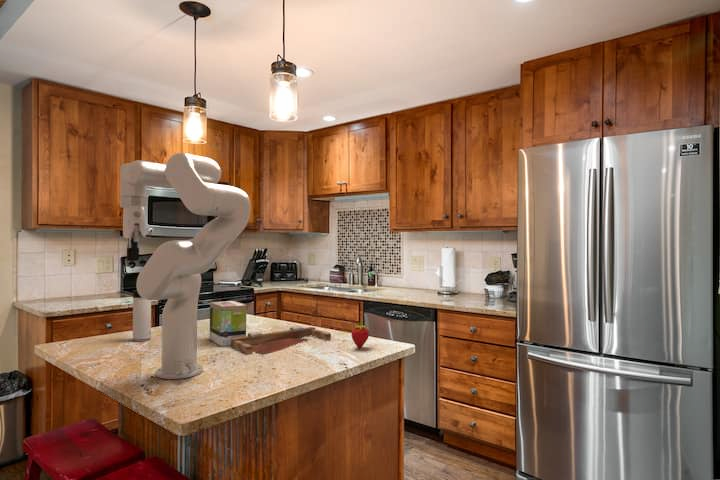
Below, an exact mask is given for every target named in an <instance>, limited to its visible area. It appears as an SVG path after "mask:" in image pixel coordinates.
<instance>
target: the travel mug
mask: <svg viewBox="0 0 720 480" xmlns="http://www.w3.org/2000/svg"><path fill="white" fill-rule="evenodd" d="M132 295H133V296H132V341H133V342H136V343H138V342H139V343H141V342H142V341H143V342H149V341H150V340H151V339H152V300H146V299H144V298H142V297H141V296H140V295H139V294H138V291H137V289H135V290H133V291H132ZM143 342H142V343H143Z"/></svg>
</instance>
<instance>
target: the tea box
mask: <svg viewBox="0 0 720 480" xmlns="http://www.w3.org/2000/svg"><path fill="white" fill-rule="evenodd" d="M247 307H248V306H247V304H245V303H243V302H239V301H236V300H227V301H226V300H225V301H212V302H211V301H210V303H209V339H210V340H211V341H213V342H214V343H216V344H217V345H218V346H220V347H227V346H231V338H238V337H245V336H247V312H248V311H247Z"/></svg>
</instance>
